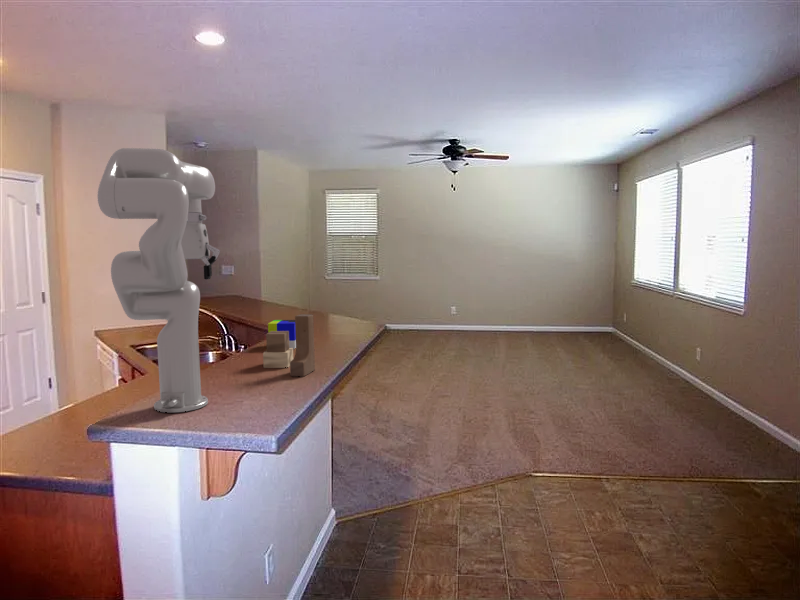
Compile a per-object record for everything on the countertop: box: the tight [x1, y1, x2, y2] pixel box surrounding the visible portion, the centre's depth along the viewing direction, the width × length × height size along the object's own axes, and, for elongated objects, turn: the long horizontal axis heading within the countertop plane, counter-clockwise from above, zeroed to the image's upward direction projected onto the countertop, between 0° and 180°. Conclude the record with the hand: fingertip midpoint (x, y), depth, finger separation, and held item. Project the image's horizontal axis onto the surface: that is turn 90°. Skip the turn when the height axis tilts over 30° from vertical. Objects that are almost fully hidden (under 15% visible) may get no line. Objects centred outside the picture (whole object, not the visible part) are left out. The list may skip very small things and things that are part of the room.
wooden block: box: [289, 313, 316, 378], centre depth 171 cm, size 9×4×18 cm, turn 166°
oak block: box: [262, 348, 294, 369], centre depth 184 cm, size 8×8×5 cm
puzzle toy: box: [267, 319, 296, 350], centre depth 216 cm, size 10×10×10 cm
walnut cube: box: [265, 331, 289, 352], centre depth 183 cm, size 6×6×6 cm
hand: (191, 279), depth 160 cm, fingers open, 9 cm apart
